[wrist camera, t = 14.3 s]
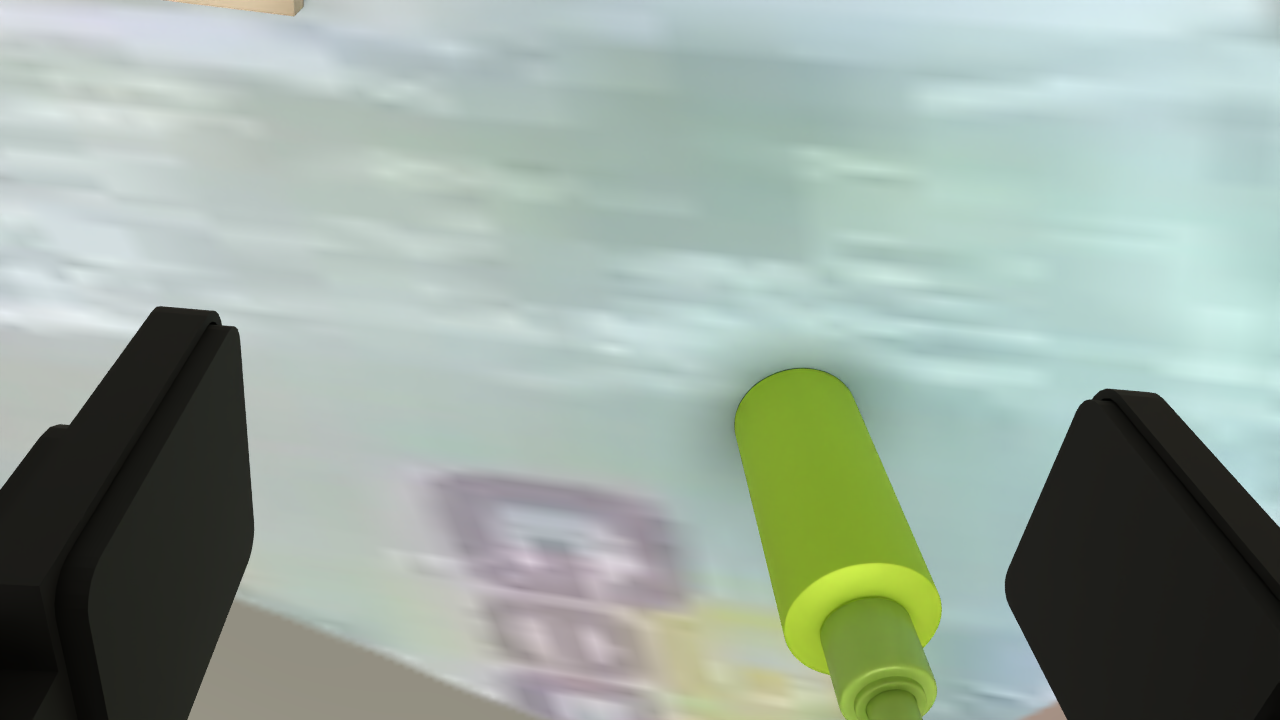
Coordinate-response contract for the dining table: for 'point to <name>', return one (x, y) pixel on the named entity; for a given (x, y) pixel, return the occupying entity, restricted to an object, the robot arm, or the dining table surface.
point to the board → (254, 5)
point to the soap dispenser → (838, 546)
